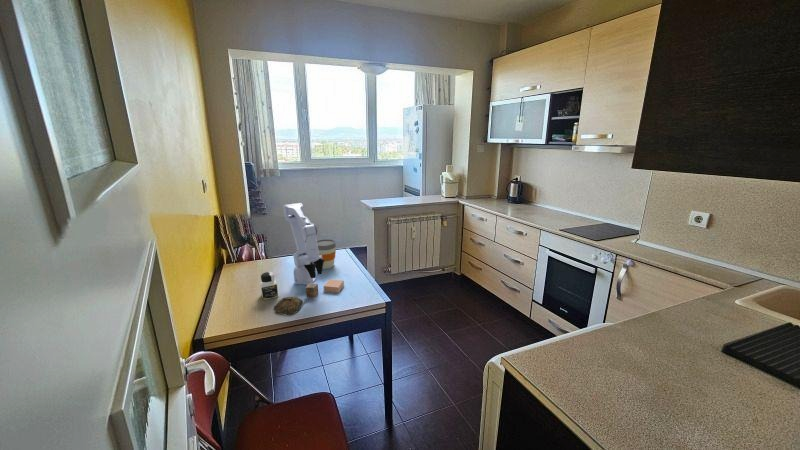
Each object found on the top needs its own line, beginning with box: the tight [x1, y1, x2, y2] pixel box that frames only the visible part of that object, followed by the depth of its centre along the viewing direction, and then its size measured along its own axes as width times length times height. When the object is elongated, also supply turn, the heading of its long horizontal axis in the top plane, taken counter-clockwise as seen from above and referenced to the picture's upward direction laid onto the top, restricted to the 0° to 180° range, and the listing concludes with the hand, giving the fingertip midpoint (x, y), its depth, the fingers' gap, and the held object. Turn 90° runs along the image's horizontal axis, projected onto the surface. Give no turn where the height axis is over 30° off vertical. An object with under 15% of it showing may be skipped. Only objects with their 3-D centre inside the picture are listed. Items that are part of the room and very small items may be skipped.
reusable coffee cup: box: [317, 238, 337, 270], centre depth 201 cm, size 12×13×15 cm
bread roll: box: [273, 296, 304, 316], centre depth 154 cm, size 13×12×5 cm
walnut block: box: [304, 282, 319, 299], centre depth 166 cm, size 4×4×6 cm
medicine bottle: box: [259, 271, 279, 301], centre depth 165 cm, size 7×7×12 cm
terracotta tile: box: [323, 279, 345, 294], centre depth 173 cm, size 8×8×3 cm
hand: (316, 276), depth 164 cm, fingers open, 7 cm apart
